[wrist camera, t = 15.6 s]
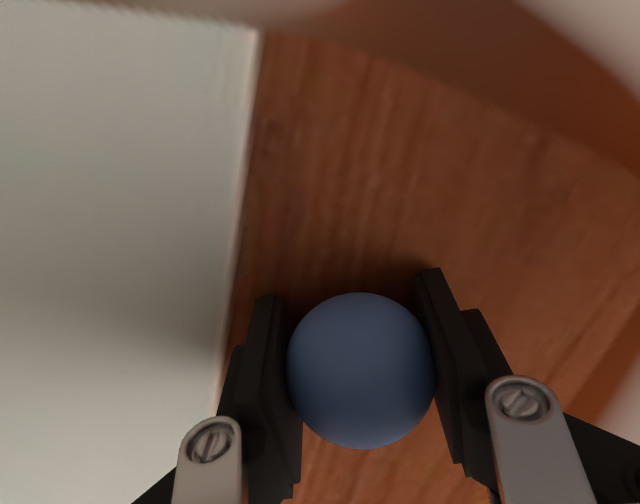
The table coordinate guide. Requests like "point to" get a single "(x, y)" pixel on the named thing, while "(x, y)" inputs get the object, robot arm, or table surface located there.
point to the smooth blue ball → (360, 370)
